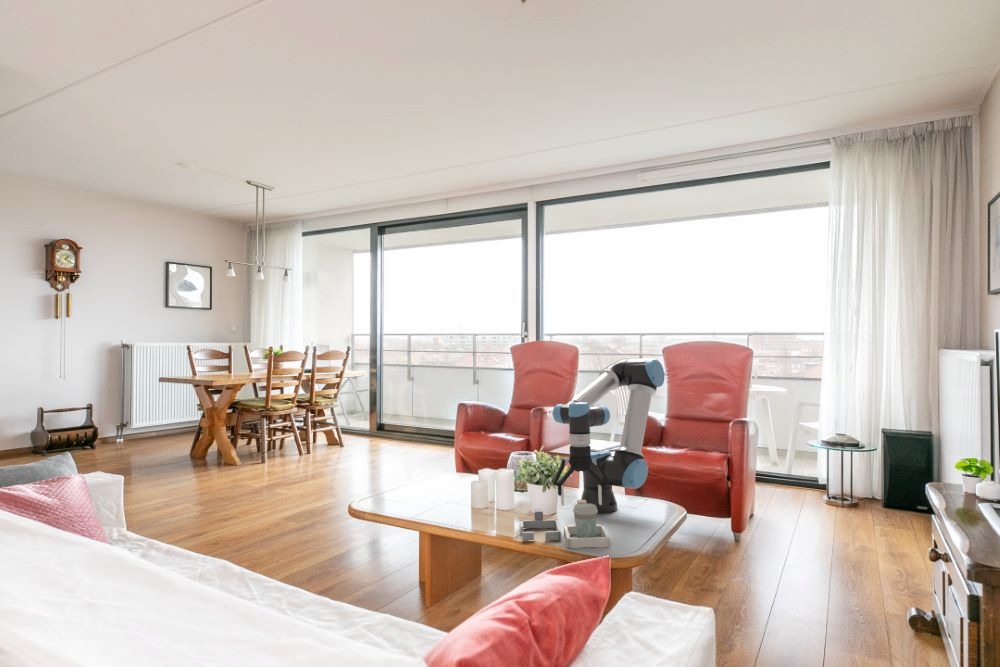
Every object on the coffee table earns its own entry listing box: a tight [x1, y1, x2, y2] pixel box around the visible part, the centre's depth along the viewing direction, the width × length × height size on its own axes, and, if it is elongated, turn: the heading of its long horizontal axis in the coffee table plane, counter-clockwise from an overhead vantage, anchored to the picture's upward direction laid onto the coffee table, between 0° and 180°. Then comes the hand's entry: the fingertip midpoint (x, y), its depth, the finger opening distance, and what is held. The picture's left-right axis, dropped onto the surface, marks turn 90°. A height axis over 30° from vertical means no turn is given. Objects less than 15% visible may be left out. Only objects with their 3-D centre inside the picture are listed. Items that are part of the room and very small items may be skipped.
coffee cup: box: [572, 503, 599, 538], centre depth 206 cm, size 9×9×12 cm
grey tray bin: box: [563, 499, 611, 549], centre depth 208 cm, size 19×14×11 cm
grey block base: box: [519, 508, 563, 542], centre depth 216 cm, size 19×14×6 cm
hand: (581, 504), depth 216 cm, fingers open, 13 cm apart
